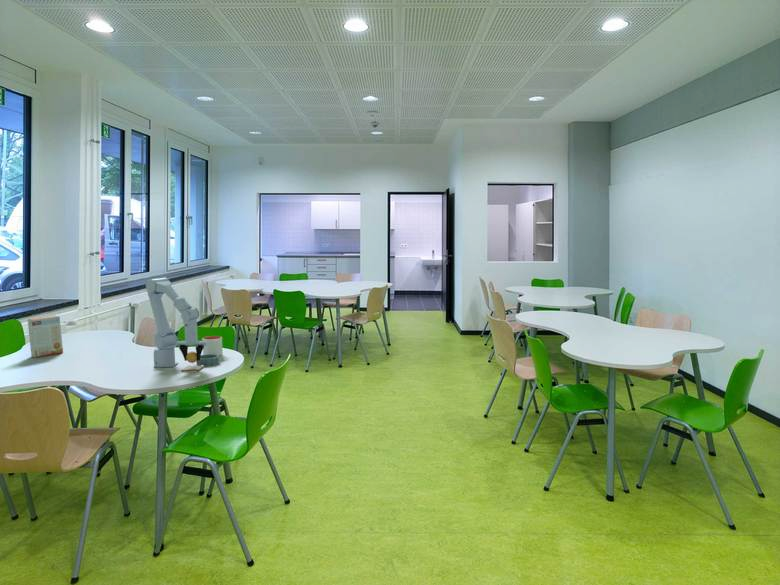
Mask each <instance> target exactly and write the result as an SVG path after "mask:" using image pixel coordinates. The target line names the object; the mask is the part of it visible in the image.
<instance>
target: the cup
mask: <svg viewBox="0 0 780 585" xmlns="http://www.w3.org/2000/svg"><path fill="white" fill-rule="evenodd" d="M201 341H207V346H204V348H203V350H202V355H205V354H216V355H218V356H219V357H221V356H222V355H223V337H222V336H220V335H211V336H209V335H208V336H204V337H202V340H201Z"/></svg>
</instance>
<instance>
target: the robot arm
mask: <svg viewBox="0 0 780 585" xmlns="http://www.w3.org/2000/svg"><path fill="white" fill-rule="evenodd" d="M145 288H146V292H147V296H148V298H149V302H150V306H151V310H152V313H153V317H154V321H155V324H156V325H155V326H156V328H157V331H156V332H155V333H154V335H153V337H154V345H155V347H156V348H155V349H154V351H153V368H173V367H175V366H176V365H178V364H179V362H178V361H176V352H175V348H176V347H178V349H179V350H180V352H181V354H182V356H183V358H184V361H187V359H186V356H187V354H188V353H189V352H188V348H189V347H195V352H196V353H197V361H199V360H200V356H201V355H202V354H203V348H204V346H207V341H202V340H198V318H199V317H200V311H199V309H198V308H197V307H194V306H191V304H189V302H188V301H187V300H186V298H184V297H180V296H179V294H178V293H177V292H176V291H175V289H174V288H173V287H172V282H171V281H170V279H169V278H167V277H162V278H160V277H159V278H150V279H148V280H147V281H146V283H145ZM164 295H166V296H167V297H168V298H169V299H170V300H171V301H172V302H173V306H174V308H176V309H177V311H178V312H179V313H180V317H181V319H182V324H183V325H184V326H183V327H184V340H179V339H178V336H177V335H176V333H175V330H174V329H172V328H171V327H170V326H169V323H168V322H169V321H168V319H167V315H166V311H165V307H164V304H163V300H162V297H163V296H164Z"/></svg>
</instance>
